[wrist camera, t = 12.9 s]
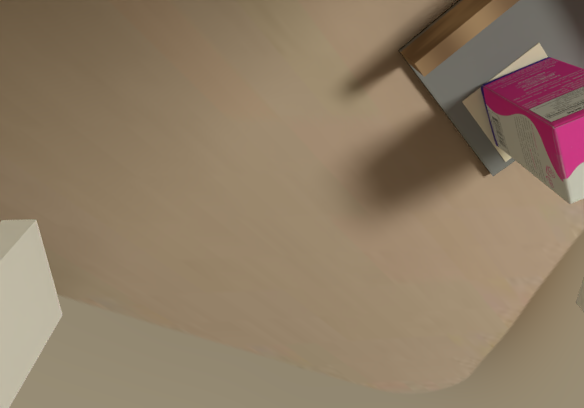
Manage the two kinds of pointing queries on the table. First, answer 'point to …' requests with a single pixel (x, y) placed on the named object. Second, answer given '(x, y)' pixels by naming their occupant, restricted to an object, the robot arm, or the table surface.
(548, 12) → the grey mat
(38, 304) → the robot arm
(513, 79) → the supplement box
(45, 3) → the table surface
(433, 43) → the walnut corner walls
